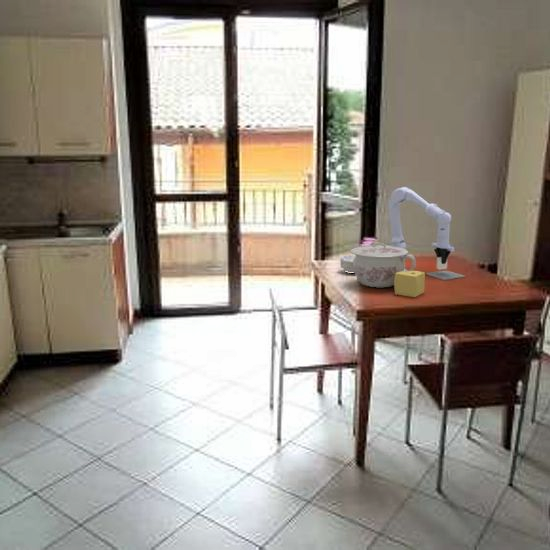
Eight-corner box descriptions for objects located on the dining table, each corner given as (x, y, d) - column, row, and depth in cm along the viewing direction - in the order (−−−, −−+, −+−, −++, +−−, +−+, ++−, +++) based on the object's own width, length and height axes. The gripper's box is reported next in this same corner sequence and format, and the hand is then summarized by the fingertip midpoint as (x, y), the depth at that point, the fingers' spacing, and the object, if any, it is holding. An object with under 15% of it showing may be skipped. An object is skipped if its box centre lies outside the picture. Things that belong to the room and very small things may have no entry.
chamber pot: (339, 281, 274) (340, 240, 270) (386, 275, 284) (388, 236, 279) (368, 295, 249) (369, 250, 244) (419, 288, 259) (421, 245, 254)
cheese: (403, 289, 258) (404, 268, 255) (425, 293, 251) (426, 271, 248) (393, 294, 250) (394, 273, 247) (415, 298, 243) (416, 276, 241)
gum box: (371, 269, 299) (372, 244, 295) (357, 268, 301) (357, 244, 298) (377, 260, 321) (378, 237, 317) (364, 259, 323) (364, 236, 320)
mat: (444, 280, 272) (444, 279, 272) (425, 274, 284) (425, 273, 284) (465, 277, 278) (465, 275, 278) (446, 271, 290) (446, 270, 290)
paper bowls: (369, 276, 284) (369, 261, 282) (339, 275, 286) (339, 260, 284) (369, 269, 298) (369, 255, 296) (341, 268, 301) (341, 254, 299)
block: (439, 269, 280) (439, 258, 278) (436, 268, 282) (437, 257, 280) (446, 268, 282) (447, 257, 280) (444, 267, 284) (444, 256, 282)
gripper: (459, 238, 273) (458, 264, 276) (439, 234, 286) (438, 259, 289) (448, 239, 270) (447, 266, 273) (429, 235, 283) (427, 261, 286)
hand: (441, 263), depth 281 cm, fingers closed on block, 2 cm apart
